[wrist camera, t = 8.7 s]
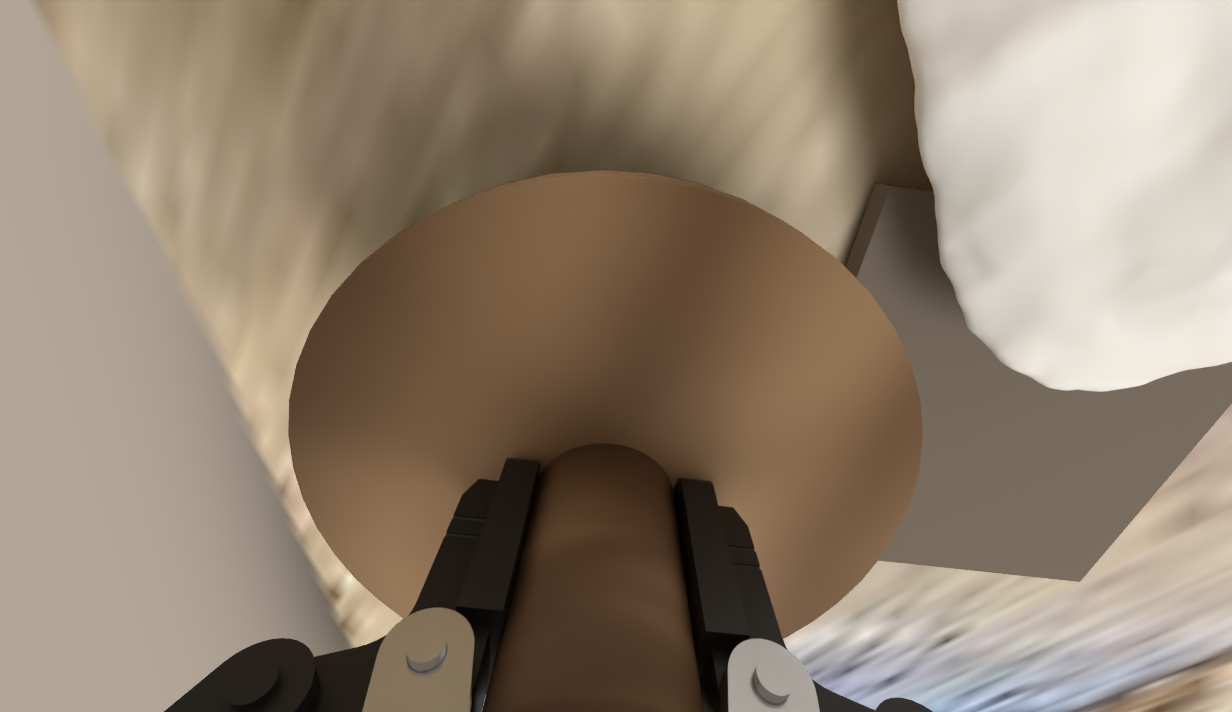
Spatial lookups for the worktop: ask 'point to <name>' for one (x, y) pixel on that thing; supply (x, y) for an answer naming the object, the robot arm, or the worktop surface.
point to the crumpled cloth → (1081, 179)
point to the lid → (606, 418)
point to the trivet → (1014, 424)
